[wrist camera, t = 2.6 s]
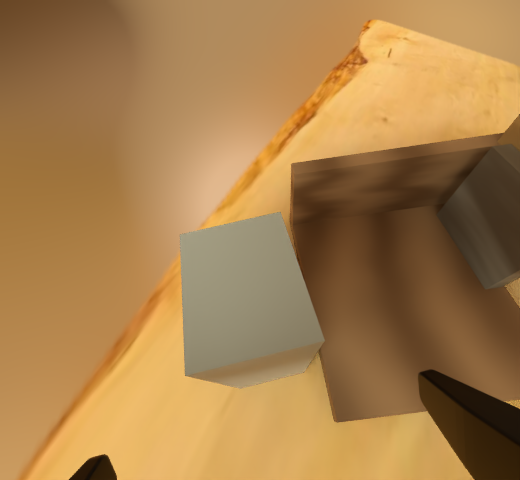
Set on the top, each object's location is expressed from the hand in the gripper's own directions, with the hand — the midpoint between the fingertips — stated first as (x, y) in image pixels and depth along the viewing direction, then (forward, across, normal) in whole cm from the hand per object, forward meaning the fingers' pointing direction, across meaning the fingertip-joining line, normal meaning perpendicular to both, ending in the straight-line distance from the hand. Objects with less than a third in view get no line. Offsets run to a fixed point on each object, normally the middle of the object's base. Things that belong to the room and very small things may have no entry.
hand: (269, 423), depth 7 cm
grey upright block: (+11, 0, +5) cm, 12 cm away
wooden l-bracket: (+12, -13, +4) cm, 18 cm away
